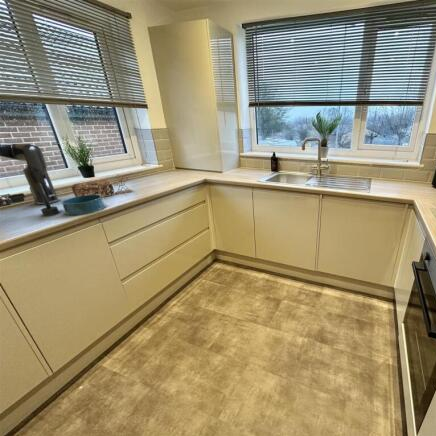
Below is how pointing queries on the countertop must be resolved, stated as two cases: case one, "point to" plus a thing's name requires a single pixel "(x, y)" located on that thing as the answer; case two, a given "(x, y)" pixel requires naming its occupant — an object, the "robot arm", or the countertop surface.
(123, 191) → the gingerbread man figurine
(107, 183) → the bread
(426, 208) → the countertop surface
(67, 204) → the bowl
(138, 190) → the countertop surface
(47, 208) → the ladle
